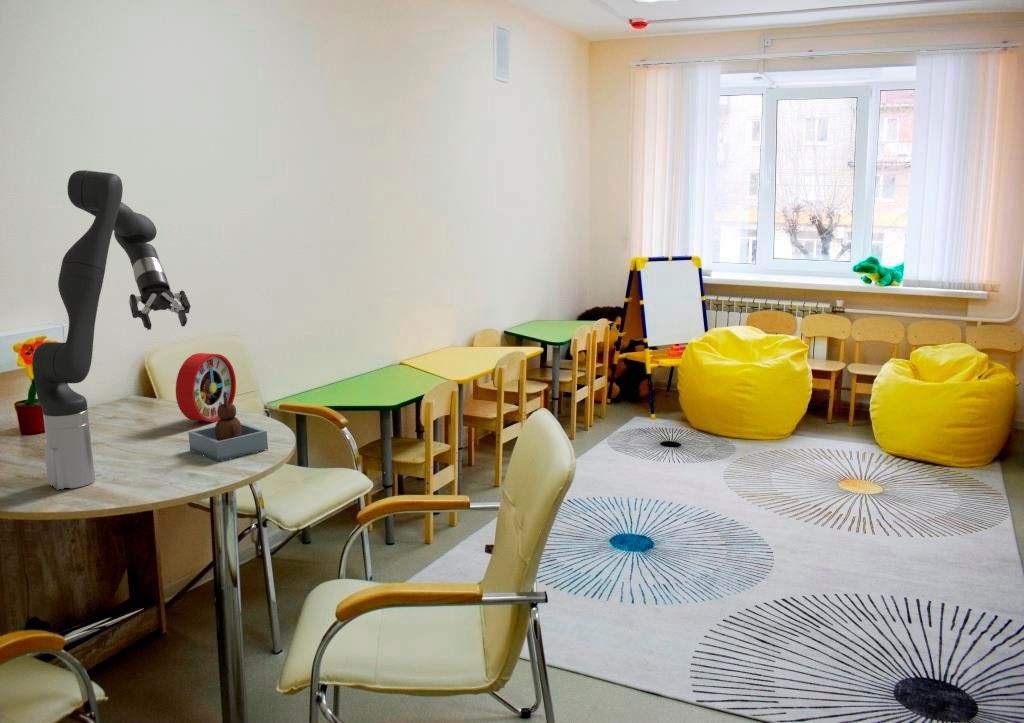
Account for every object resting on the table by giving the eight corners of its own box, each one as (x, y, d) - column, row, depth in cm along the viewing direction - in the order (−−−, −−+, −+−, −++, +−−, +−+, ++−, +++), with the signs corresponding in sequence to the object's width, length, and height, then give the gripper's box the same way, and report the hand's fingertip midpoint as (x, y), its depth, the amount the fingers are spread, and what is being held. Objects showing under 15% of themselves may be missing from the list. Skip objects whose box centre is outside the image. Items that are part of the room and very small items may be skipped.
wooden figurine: (233, 450, 229) (229, 393, 226) (212, 449, 230) (208, 392, 227) (245, 442, 236) (241, 387, 233) (225, 442, 237) (221, 387, 234)
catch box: (218, 461, 223) (217, 442, 222) (190, 450, 233) (188, 432, 232) (268, 449, 233) (266, 431, 232) (238, 439, 243) (237, 421, 242)
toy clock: (195, 429, 253) (189, 360, 250) (178, 428, 255) (172, 359, 251) (238, 412, 272) (233, 348, 268) (222, 411, 274) (217, 347, 270)
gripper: (124, 270, 229) (139, 319, 222) (180, 267, 237) (197, 314, 230) (120, 289, 234) (136, 338, 227) (176, 285, 242) (192, 332, 235)
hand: (167, 326), depth 229 cm, fingers open, 8 cm apart
